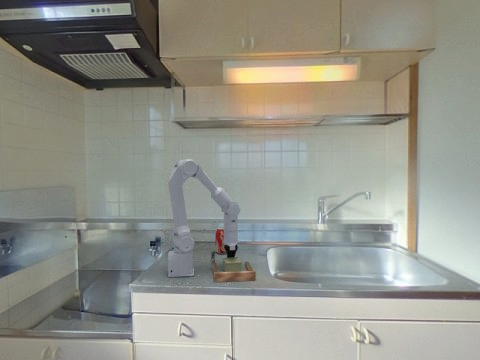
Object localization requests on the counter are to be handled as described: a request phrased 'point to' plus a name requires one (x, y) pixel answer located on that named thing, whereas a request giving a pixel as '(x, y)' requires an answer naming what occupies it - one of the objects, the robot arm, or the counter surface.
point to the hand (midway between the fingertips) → (230, 262)
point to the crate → (231, 264)
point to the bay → (234, 274)
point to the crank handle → (213, 256)
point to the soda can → (220, 241)
